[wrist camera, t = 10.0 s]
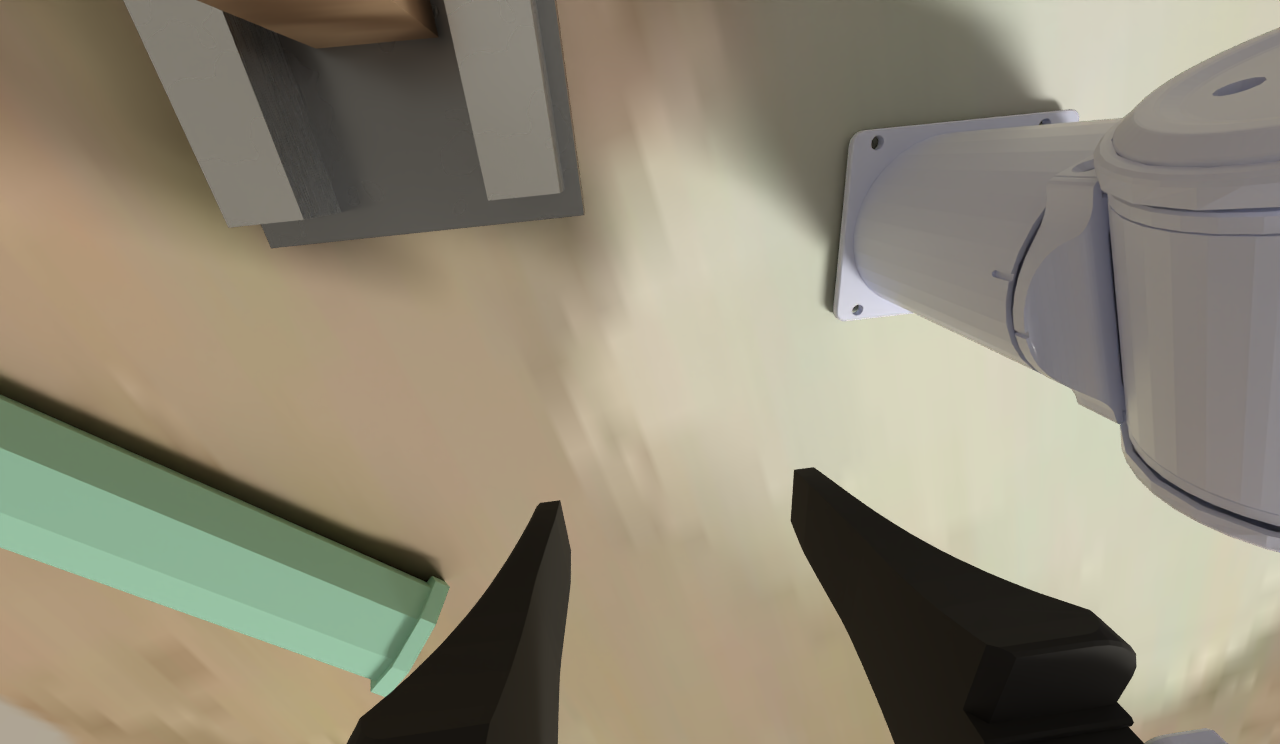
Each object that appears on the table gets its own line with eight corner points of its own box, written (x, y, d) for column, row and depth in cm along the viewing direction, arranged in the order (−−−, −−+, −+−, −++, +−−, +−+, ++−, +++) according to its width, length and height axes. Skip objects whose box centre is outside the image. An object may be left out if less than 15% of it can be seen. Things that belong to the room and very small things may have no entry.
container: (-393, 481, 14) (371, 727, 22) (-254, 327, 15) (444, 620, 22) (-142, 437, 20) (396, 645, 27) (-48, 326, 20) (454, 561, 28)
